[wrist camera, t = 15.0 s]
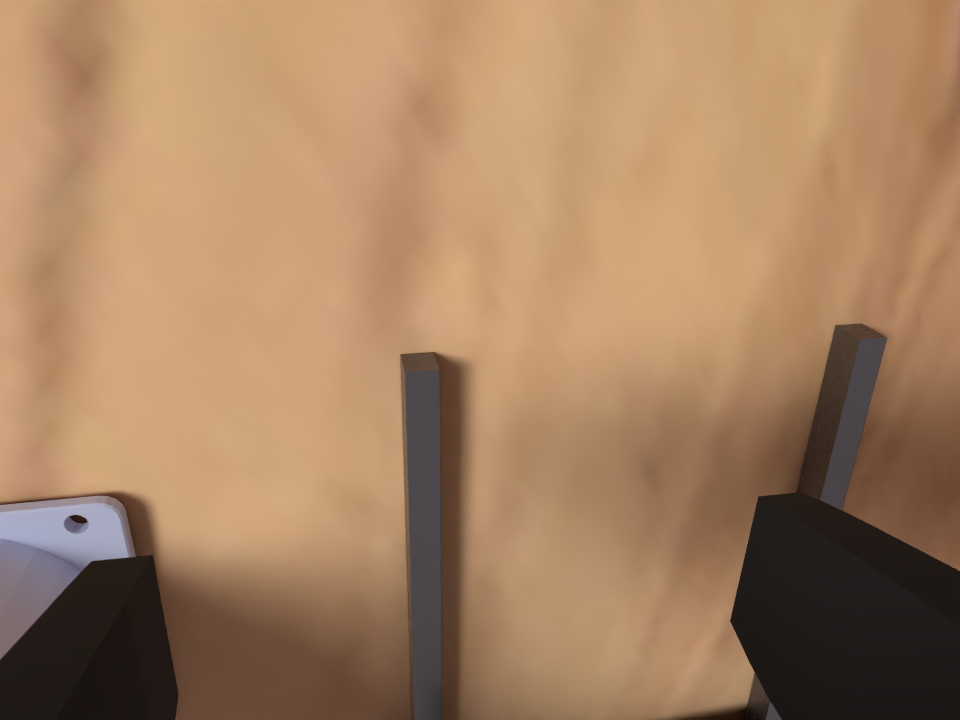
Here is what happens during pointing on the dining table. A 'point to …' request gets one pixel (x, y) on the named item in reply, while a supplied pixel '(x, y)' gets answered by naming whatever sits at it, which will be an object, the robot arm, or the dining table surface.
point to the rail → (420, 385)
